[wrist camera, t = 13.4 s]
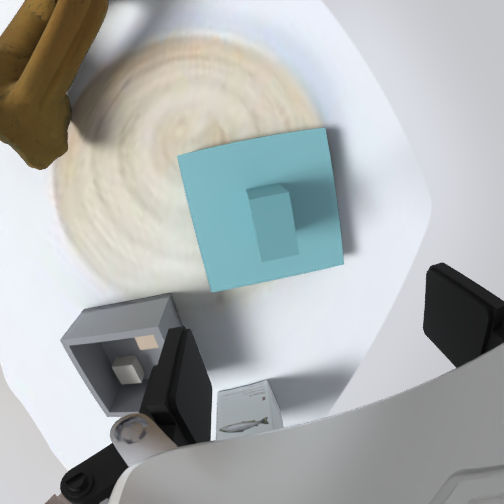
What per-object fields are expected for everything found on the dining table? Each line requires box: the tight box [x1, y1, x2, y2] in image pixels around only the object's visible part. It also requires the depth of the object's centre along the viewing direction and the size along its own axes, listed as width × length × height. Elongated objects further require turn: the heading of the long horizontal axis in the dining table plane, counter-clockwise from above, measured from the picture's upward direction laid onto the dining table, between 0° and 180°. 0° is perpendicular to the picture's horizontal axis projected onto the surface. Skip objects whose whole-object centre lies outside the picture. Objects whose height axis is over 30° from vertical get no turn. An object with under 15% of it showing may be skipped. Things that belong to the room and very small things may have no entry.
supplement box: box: [216, 380, 284, 440], centre depth 34 cm, size 7×7×13 cm
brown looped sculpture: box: [0, 0, 108, 170], centre depth 18 cm, size 18×13×22 cm
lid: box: [177, 128, 344, 293], centre depth 27 cm, size 14×14×8 cm
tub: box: [60, 293, 182, 417], centre depth 32 cm, size 12×12×7 cm
